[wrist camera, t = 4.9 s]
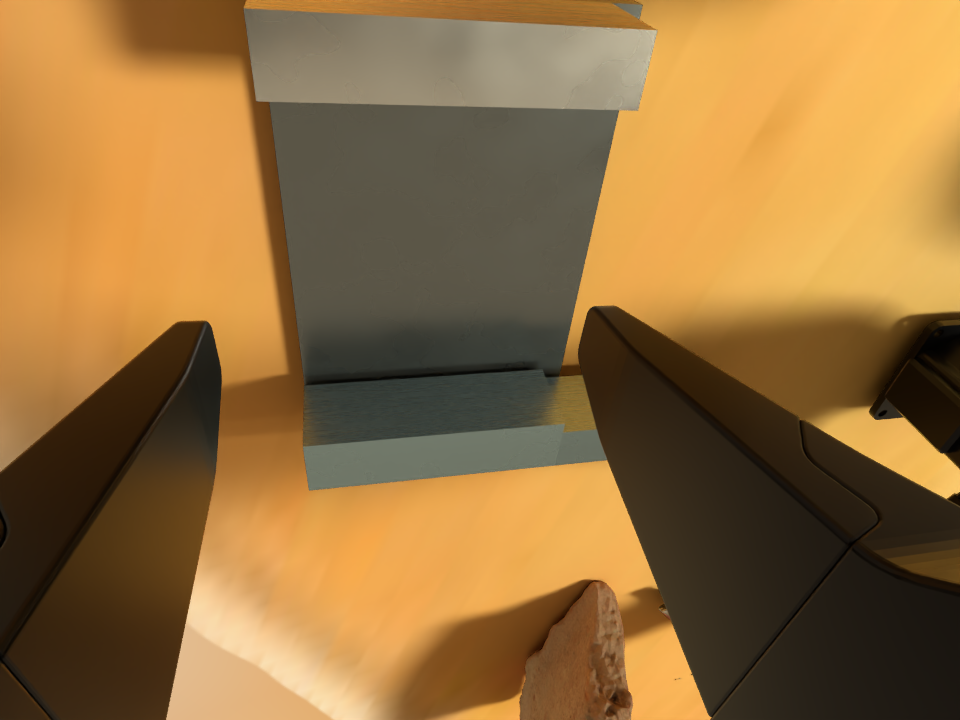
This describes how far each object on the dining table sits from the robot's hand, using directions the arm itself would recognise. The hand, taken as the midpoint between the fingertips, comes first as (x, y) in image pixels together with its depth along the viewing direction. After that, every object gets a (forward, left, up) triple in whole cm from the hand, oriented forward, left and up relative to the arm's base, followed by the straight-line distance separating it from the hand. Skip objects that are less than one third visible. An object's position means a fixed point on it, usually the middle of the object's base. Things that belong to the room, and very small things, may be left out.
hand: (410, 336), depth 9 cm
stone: (-13, +40, -13) cm, 44 cm away
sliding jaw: (-2, +11, -13) cm, 17 cm away
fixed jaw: (-2, -2, -13) cm, 13 cm away
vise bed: (-3, +5, -13) cm, 14 cm away
